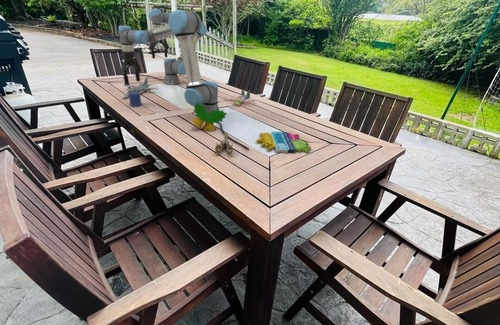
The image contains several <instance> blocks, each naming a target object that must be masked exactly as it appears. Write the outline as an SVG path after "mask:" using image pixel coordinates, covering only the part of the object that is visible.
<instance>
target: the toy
mask: <svg viewBox="0 0 500 325" xmlns="http://www.w3.org/2000/svg"><path fill="white" fill-rule="evenodd" d="M240 92H241V93H240V95H238V96H237V97H235V99H233V98H230V99H228V98H227V97H226V96H225V97H224V98H223V101H224V102H233V103H232V104H233V105H235V106H242V103H243V104H247V105H252V106H255V105H256V104H257V103H256V102H254V101H253V100H252V101H251V102H250V101H248V100H246V99H248V98H250V97H251V90H250V89H249V90H248V91H247V92H246V93H245V91H244V89H242V90H241V91H240Z"/></svg>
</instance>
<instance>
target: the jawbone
mask: <svg viewBox="0 0 500 325" xmlns="http://www.w3.org/2000/svg"><path fill="white" fill-rule="evenodd" d="M223 135H224V136H223V140H222V139H221V142H220V144H218V142H215V144H216V146H215V148H214V149H215V152H214V154H215V155H217V156H218V155H220V153H221V152H223V151H224V150H226V152H227V153H228V155H229V156H233V155H234V154H233V153H234V148H233V144H234V143H230V140H228V139H229V138H228V136H229V133H228V131H226V132H225V131H224V134H223Z"/></svg>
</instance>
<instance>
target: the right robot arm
mask: <svg viewBox="0 0 500 325" xmlns="http://www.w3.org/2000/svg"><path fill="white" fill-rule="evenodd" d="M170 13H171V14H170V16H169V20H168V24H167V25H165V24H163V25H162V26H161V27H158V28H155V29H153V28H151V29H148V30H142V29H141V30H137V29H136V30H135V29H132V28H131V26H130V25H118V35H119V41H120V46H121V51H122V58H123V59H121V68H120V75H121V76H123V80H124V85H129V86H130V81H129V76H128V72H129V68H130V67H132V68H133V70H134V71H135V72H134V76H135V81H136V82H141V75H139V74H140V73H141V70H142V69H141V67H140V64H139V62H138V58H137V57H136V55H135V54H136V53H135V47H134V44H139V45H145V44H148V43H149V44H150V42H153V43H154V42H159V41H160V40H162V39H166V40H167V39H170V38H172V37H175V39H176V40H177V41H178V44H179V48H180V52H181V54H182V58H183V62H184V67H185V72H186V75H185V76H186V81H187V82H186V84H185V88H186V89H185V91H184V94H183V95H184V100H185V101H186V103H187V104H189V105H190V106H191V107H194V106H196V102H197V103H198V104H201V106H204V109H206V112H208V113H211V112H212V110H214V111H216V110H217V109H219V111H221V110H220V108H219V102H218V99H219V98H218V97H219V87H218V83H217V82H214V81H208V80H202V77H201V72H200V67H199V66H200V65H199V62H198V56H197V50H196V46H195V45H194V40H193V39H194V37H195V32H197V31H199V30H200V28H201V22H202V18H201V17H200V15H199V13H197V12H195V11H193V10H192V11H191V10H183V9H180V10H179V9H178V10H173V11H172V12H170ZM208 113H207V115H208ZM217 124H219V126H220V130H221V133H222V134H223V135H224V133H225V131H224V129H223V125H222V123H221V121H219V122H218V123H217ZM228 139H229V140H230V141H232V142H233V143H235V144H238V145H239V146H241V147H243V148H245V149H246V150H250V148H249V147H247V146H246V145H244V144H242V143H240V142H239V141H237V140H235V139H233V138H232V137H231V136H229V135H228Z"/></svg>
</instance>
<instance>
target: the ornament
mask: <svg viewBox="0 0 500 325" xmlns="http://www.w3.org/2000/svg"><path fill="white" fill-rule="evenodd" d="M219 110H220V108H219V109H217V110H216V111H214V110H212V112H211V113H208V112H206V109H204V106H201V104H198V103H197V102H196V106H193V112H194V113H195V118H192V119H191V122H192V123H193V125H195V127H197V128H198V129H202V130H203V131H206V132H212V131H213V132H214V131H215V130H216V126H215V124H219V123H218V122H220V123H221V122H223V119H226V115H227V114H228V113H227V112H224V110H223V109H221V110H220V111H219ZM207 113H208V115H207ZM214 123H215V124H214Z"/></svg>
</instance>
